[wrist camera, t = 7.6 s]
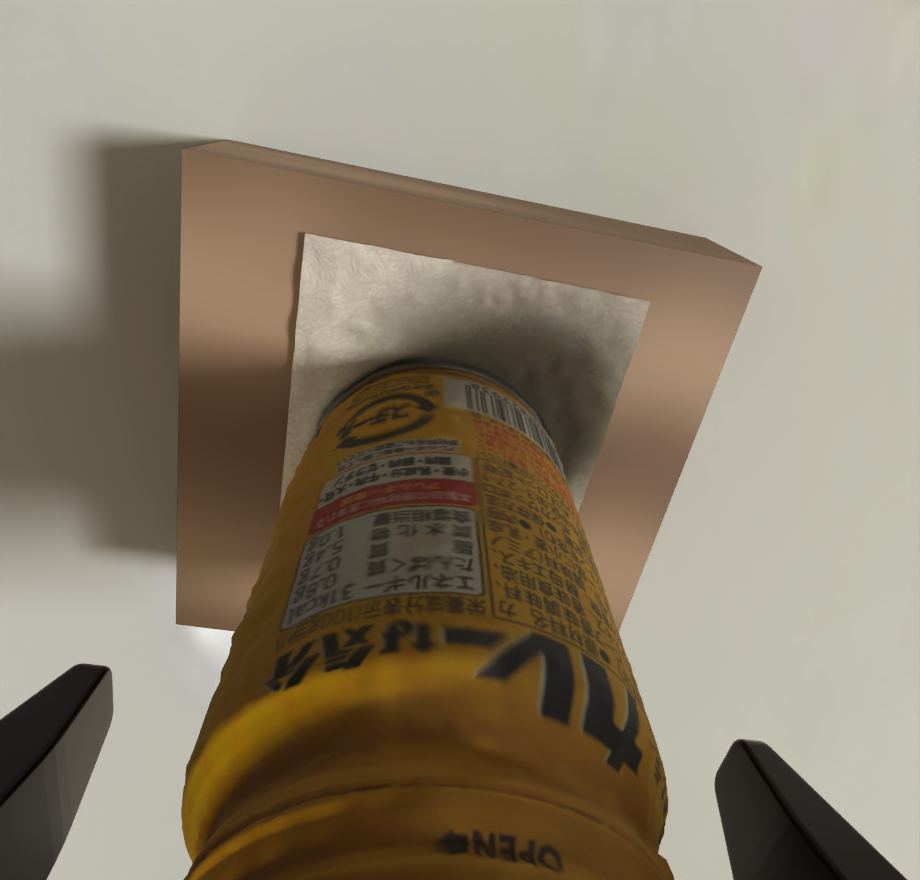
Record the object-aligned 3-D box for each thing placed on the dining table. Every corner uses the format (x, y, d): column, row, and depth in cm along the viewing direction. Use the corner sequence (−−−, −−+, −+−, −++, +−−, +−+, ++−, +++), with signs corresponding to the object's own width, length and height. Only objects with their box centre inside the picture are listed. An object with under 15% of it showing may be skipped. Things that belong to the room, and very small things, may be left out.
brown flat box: (575, 586, 23) (601, 675, 20) (218, 537, 22) (175, 624, 18) (696, 233, 18) (762, 266, 14) (236, 138, 16) (181, 149, 13)
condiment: (275, 563, 17) (24, 1307, 7) (306, 231, 14) (-147, 714, 3) (547, 600, 18) (709, 1309, 8) (646, 297, 15) (1238, 852, 4)
